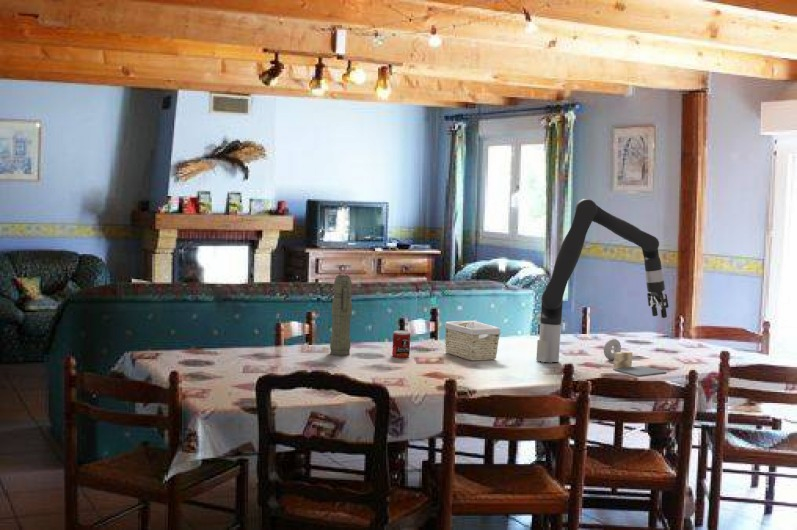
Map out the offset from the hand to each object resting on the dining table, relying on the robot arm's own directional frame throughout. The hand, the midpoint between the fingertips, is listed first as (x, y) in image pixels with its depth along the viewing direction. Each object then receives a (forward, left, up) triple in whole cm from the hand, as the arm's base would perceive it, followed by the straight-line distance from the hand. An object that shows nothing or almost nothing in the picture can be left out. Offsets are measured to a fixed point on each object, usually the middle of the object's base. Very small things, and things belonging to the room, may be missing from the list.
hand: (659, 316), depth 436 cm
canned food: (-92, +66, -24) cm, 115 cm away
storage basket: (-61, +55, -24) cm, 85 cm away
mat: (-12, -1, -23) cm, 26 cm away
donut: (-3, +24, -24) cm, 34 cm away
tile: (-13, +8, -24) cm, 28 cm away
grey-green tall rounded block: (-115, +80, -24) cm, 142 cm away
